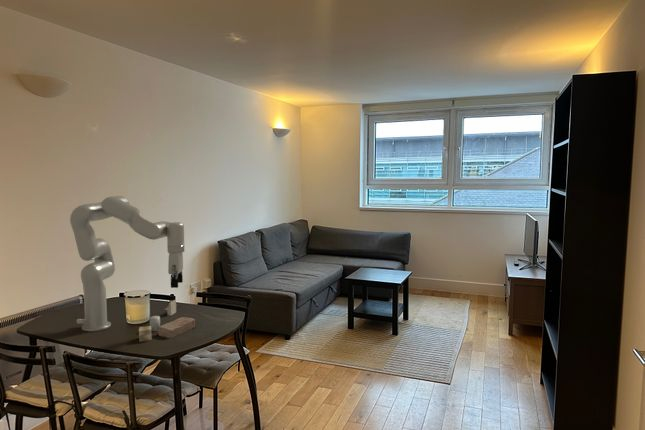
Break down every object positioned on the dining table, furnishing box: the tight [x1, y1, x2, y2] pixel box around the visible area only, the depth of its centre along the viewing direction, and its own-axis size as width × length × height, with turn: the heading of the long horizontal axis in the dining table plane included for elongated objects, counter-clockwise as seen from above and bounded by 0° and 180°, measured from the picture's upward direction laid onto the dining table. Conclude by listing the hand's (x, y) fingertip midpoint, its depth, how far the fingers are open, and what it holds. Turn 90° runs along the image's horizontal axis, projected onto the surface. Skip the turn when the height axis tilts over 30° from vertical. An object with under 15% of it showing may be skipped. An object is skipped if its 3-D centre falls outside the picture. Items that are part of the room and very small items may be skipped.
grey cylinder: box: [149, 315, 161, 332], centre depth 213 cm, size 5×5×6 cm
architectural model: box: [164, 299, 177, 316], centre depth 237 cm, size 3×7×7 cm, turn 170°
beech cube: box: [138, 325, 152, 342], centre depth 201 cm, size 5×5×5 cm
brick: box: [157, 316, 196, 339], centre depth 211 cm, size 17×8×5 cm, turn 153°
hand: (176, 284), depth 209 cm, fingers open, 9 cm apart
